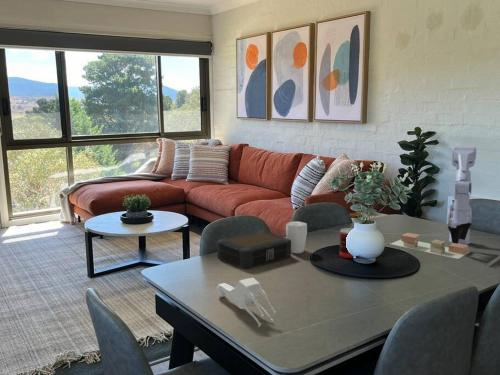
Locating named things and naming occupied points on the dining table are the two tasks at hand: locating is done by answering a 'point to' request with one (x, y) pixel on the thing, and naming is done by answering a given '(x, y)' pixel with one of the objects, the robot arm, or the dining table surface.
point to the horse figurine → (245, 295)
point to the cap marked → (410, 238)
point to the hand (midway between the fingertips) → (458, 241)
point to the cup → (296, 235)
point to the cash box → (253, 249)
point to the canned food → (344, 243)
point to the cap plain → (458, 248)
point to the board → (426, 248)
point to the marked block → (410, 244)
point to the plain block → (437, 246)
